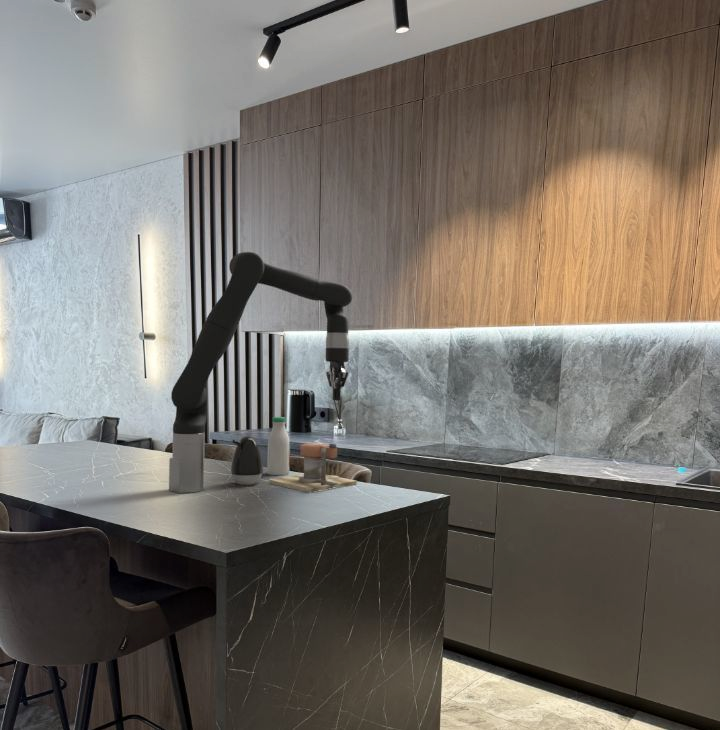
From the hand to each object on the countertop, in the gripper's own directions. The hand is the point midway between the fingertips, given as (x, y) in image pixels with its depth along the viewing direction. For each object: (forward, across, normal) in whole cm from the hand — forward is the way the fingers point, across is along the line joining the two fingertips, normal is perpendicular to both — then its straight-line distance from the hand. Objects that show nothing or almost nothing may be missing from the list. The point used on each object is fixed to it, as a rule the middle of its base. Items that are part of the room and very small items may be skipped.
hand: (336, 400), depth 193 cm
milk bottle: (+27, +23, +12) cm, 38 cm away
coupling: (+18, -1, +6) cm, 19 cm away
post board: (+27, +2, +7) cm, 28 cm away
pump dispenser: (+27, +9, +27) cm, 39 cm away
